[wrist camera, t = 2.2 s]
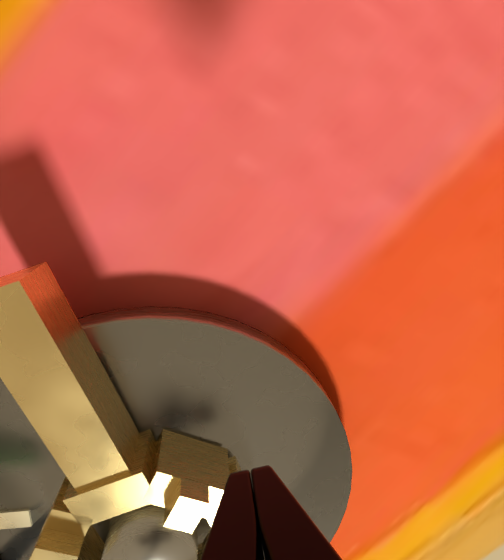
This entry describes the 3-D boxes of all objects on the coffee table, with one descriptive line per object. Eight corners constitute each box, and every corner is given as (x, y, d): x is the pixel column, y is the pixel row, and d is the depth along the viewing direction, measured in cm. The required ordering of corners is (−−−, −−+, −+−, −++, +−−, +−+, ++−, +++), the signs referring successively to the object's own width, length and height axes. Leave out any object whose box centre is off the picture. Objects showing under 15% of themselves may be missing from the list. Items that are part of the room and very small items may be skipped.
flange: (362, 553, 24) (396, 639, 19) (49, 646, 23) (14, 759, 19) (309, 258, 17) (345, 293, 13) (-141, 374, 16) (-263, 453, 12)
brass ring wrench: (272, 540, 20) (285, 610, 17) (107, 600, 20) (90, 681, 17) (136, 230, 14) (118, 251, 11) (-103, 312, 14) (-190, 357, 11)
